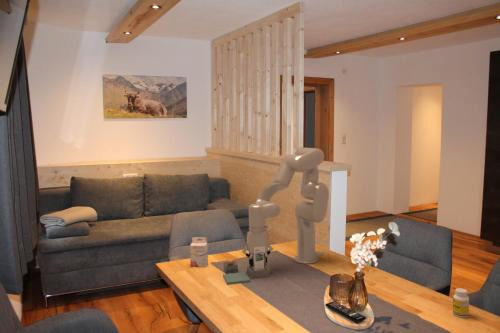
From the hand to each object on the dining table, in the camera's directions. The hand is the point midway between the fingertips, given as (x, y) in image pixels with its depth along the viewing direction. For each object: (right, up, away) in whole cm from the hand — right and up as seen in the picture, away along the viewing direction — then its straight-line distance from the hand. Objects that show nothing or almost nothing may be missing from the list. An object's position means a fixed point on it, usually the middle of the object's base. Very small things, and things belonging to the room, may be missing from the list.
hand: (258, 264), depth 210 cm
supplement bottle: (+76, -8, -48) cm, 90 cm away
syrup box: (0, -5, +1) cm, 5 cm away
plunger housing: (-14, -5, +5) cm, 15 cm away
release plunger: (-14, -4, +5) cm, 15 cm away
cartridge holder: (0, -5, 0) cm, 5 cm away
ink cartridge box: (-31, -4, +16) cm, 35 cm away
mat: (-11, -6, -5) cm, 13 cm away
